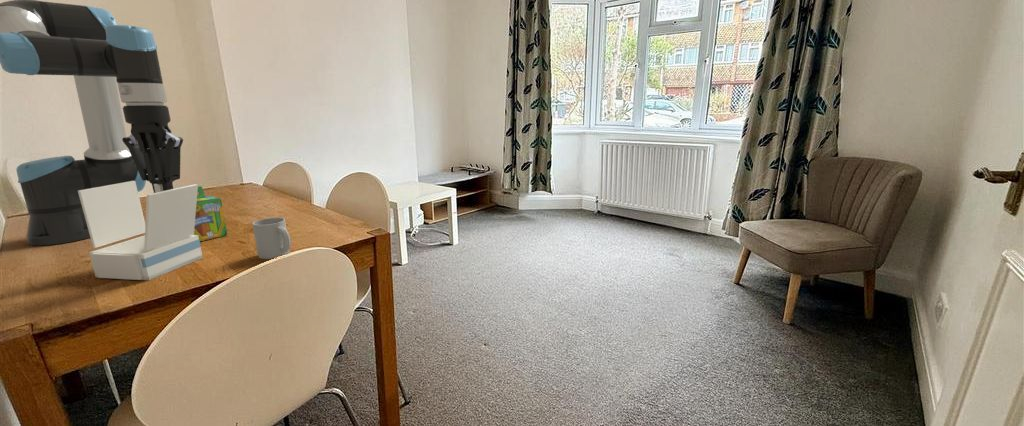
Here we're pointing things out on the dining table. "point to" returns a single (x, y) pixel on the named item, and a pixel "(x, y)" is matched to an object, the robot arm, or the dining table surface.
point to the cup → (271, 237)
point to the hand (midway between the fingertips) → (168, 211)
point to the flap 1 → (112, 212)
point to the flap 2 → (170, 215)
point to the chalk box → (209, 217)
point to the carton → (144, 258)
